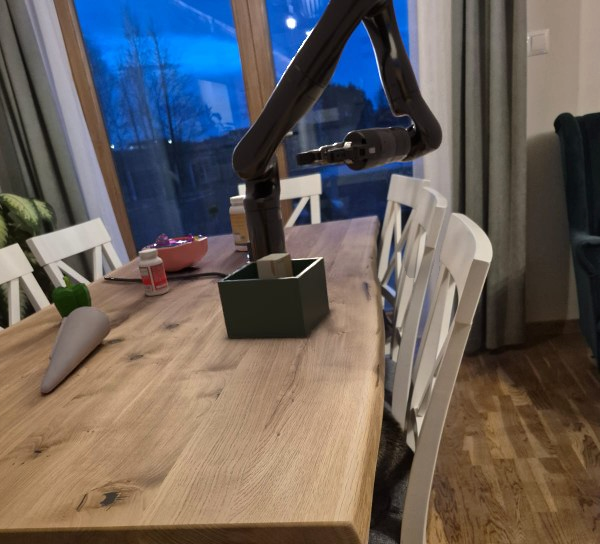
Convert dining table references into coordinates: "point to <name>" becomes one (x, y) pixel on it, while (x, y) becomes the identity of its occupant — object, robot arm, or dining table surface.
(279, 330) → the trash bin
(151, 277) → the pill bottle
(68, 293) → the bell pepper
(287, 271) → the cosmetic box
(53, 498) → the dining table surface
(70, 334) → the grey cone
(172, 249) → the cell model
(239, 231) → the supplement tub
